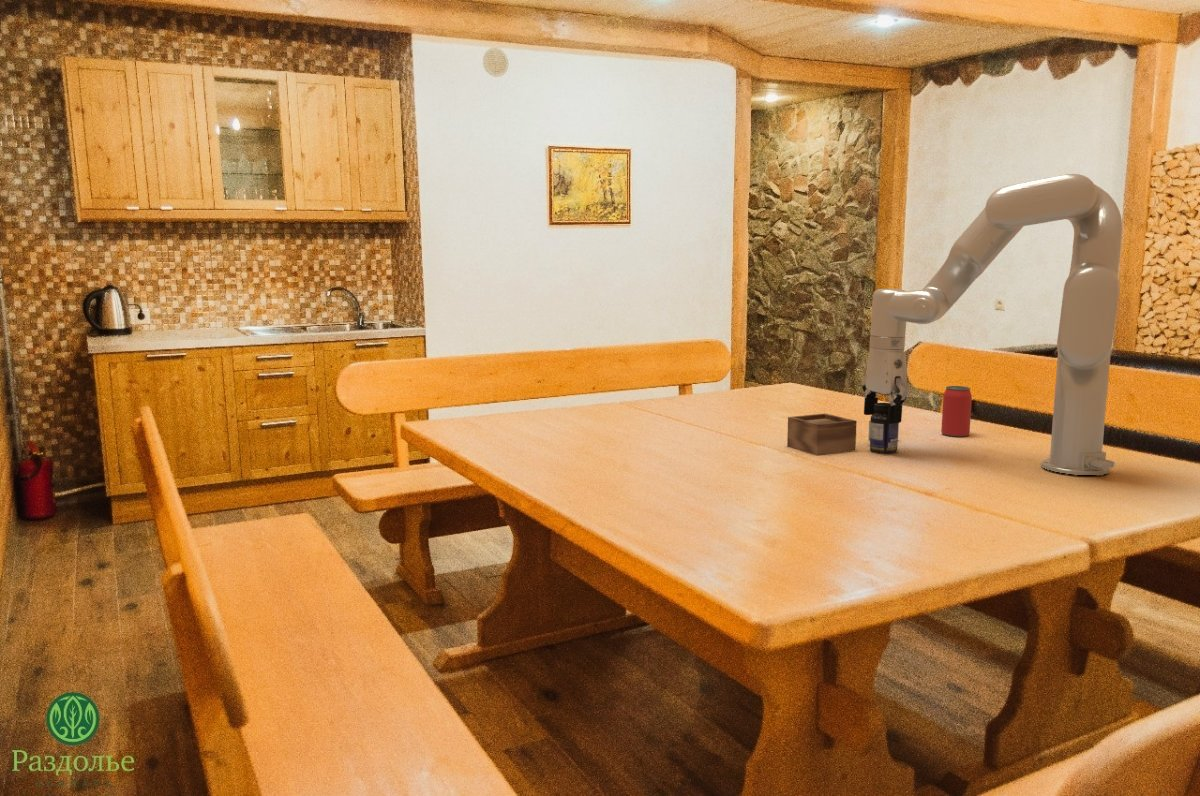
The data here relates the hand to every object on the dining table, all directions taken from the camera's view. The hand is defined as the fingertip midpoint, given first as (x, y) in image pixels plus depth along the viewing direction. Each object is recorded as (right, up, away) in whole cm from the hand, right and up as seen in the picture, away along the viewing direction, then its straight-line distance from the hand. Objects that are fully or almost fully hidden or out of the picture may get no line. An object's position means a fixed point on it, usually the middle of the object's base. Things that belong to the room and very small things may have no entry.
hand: (881, 418), depth 204 cm
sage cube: (+4, -6, +13) cm, 15 cm away
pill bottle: (+1, -8, +1) cm, 8 cm away
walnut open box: (-13, -7, +5) cm, 15 cm away
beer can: (+25, -5, +20) cm, 32 cm away
